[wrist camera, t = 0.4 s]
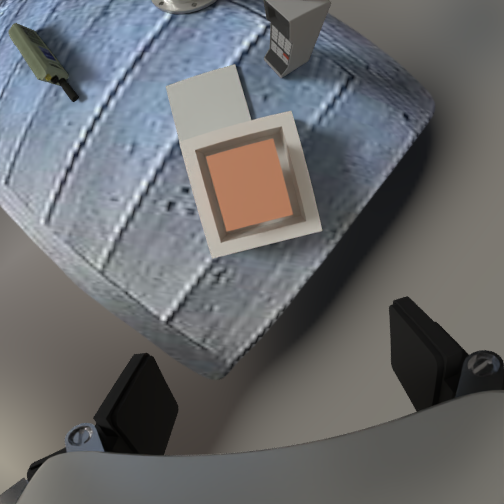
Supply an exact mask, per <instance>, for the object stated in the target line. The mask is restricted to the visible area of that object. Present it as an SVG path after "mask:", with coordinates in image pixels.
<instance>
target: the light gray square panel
mask: <svg viewBox="0 0 504 504" xmlns="http://www.w3.org/2000/svg"><path fill="white" fill-rule="evenodd" d="M166 89H167V94H168V98H169V102H170V106H171V110H172V114H173V118H174V122H175V126H176V130H177V134H178V138H179V141H183V140H186V139H189V138H192V137H195V136H199V135H202V134H205V133H208V132H211V131H215V130H218V129H222V128H225V127H229V126H232V125H236V124H239V123H243V122H247V121H251V117H250V114H249V110H248V107H247V103H246V100H245V96H244V93H243V90H242V86H241V83H240V80H239V76H238V73H237V70H236V66H235V65H231V66H227V67H224V68H220V69H217V70H213V71H210V72H207V73H203V74H200V75H197V76H194V77H191V78H188V79H185V80H182V81H179V82H176V83H174V84H171V85H168V86H166Z"/></svg>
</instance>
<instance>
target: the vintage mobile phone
mask: <svg viewBox="0 0 504 504" xmlns="http://www.w3.org/2000/svg"><path fill="white" fill-rule="evenodd" d="M330 5H331V2H330V1H329V0H264V6H265V12H266V18H267V20H268V21H270V22H271V27H270V49H269V50H268V52H267V54H266V55H265V57H264V60H265V62H266V63H267V64H268V65H269V66H270V67H271V68H272V69H273V70H274V71H275V72H276V73H277V74H278V76H279V77H280V78H283V77H284V76H286V75H287V74H289V73H290V72H292V71H293V70H295V69H296V68H298V67H300V66H301V65H303V64H304V63H306V62H308V61H309V59H310V56H311V54H312V51H313V48H314V46H315V43H316V41H317V38H318V36H319V33H320V30H321V28H322V25H323V23H324V20H325V18H326V15H327V13H328V10H329V8H330Z"/></svg>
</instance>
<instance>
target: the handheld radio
mask: <svg viewBox="0 0 504 504" xmlns="http://www.w3.org/2000/svg"><path fill="white" fill-rule="evenodd" d="M9 36H10V38H11V39H12V41H13V43H14V44H15V45H16V46H17V48H18V49H19V51H20V53H21V54H22V56H23V57H24V59H25V60H26V62H27V64H28V65H29V67H30V68H31V70H32V71H33V73H34V74H35V76H36V77H37V79H38V80H41V81H45V82H49V83H52V84H56V85H59V86H62V88H63V90H64V91H65V92H66V94H67V95H68V96H69V98H70V99H71V100H72V102H75V101H76V100H77V99H78V98H79V96H78V95H77V94H76V92H75V91H74V90H73V89H72V87H71V86H70V85H69V83H67V81H66V80H67V79H68V77H69V75H68V74H67V72H66V71H65V70H64V68H63V67H62V66H61V64H60V62H59V61H58V60H57V59H56V57H55V56H54V55H53V54H52V52H51V51H50V49H48V47H47V46H46V45H45V43H44V42H43V41H42V40H41V38H40V37H39V36H38V34H37V33H36V32H35V31H34V30H32V29H29V28H27V27H24V26H22V25H20V24H17V23H15V24H13V25H12V27H11V28H10V30H9Z"/></svg>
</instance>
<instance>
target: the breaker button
mask: <svg viewBox="0 0 504 504" xmlns="http://www.w3.org/2000/svg"><path fill="white" fill-rule="evenodd" d="M206 159H207V163H208V167H209V170H210V174H211V178H212V181H213V185H214V188H215V192H216V196H217V199H218V203H219V206H220V210H221V213H222V217H223V221H224V224H225V228H226V231H231V230H235V229H239V228H243V227H246V226H250V225H254V224H258V223H262V222H266V221H270V220H274V219H278V218H282V217H286V216H290V215H293V212H292V208H291V204H290V200H289V196H288V192H287V188H286V184H285V181H284V177H283V173H282V169H281V165H280V162H279V158H278V154H277V151H276V147H275V143H274V140H273V139H269V140H265V141H261V142H257V143H253V144H249V145H245V146H242V147H238V148H234V149H231V150H227V151H224V152H220V153H217V154H213V155H210V156H207V157H206Z"/></svg>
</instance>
